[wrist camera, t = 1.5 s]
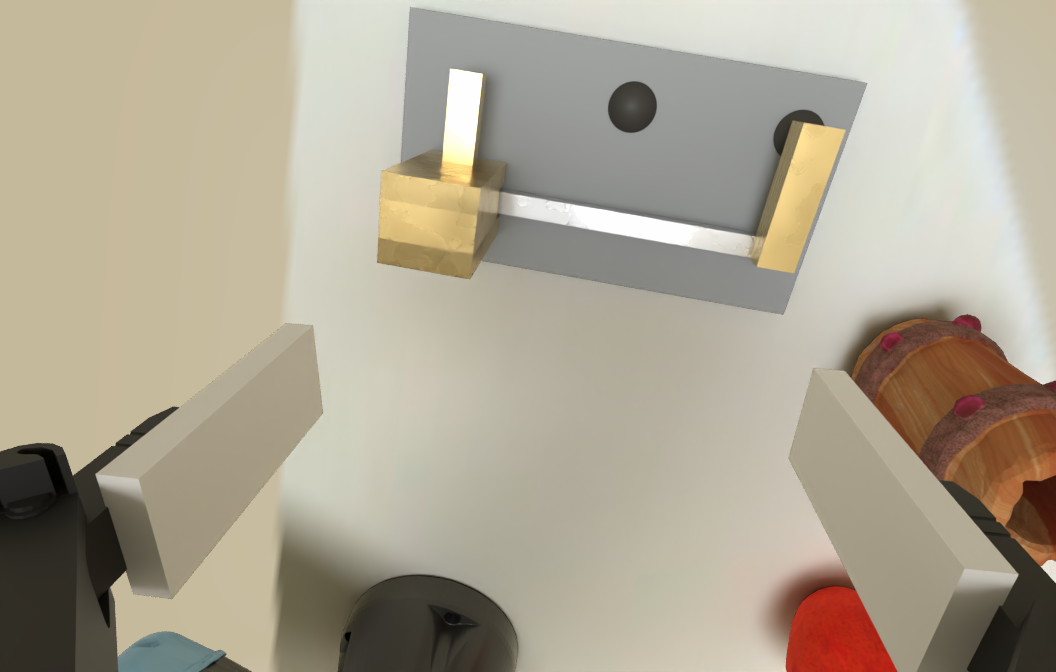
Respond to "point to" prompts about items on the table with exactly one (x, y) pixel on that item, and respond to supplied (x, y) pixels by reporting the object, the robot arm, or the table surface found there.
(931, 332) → the mug
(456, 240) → the block
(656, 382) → the table surface
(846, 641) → the apple
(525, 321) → the table surface
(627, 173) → the flange plate
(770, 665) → the table surface
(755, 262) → the beam
